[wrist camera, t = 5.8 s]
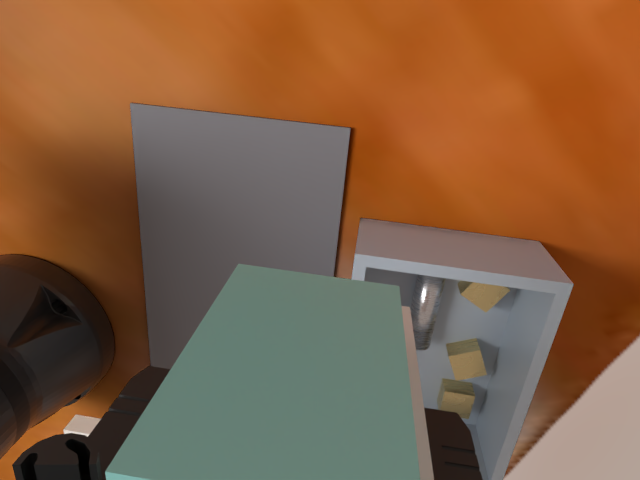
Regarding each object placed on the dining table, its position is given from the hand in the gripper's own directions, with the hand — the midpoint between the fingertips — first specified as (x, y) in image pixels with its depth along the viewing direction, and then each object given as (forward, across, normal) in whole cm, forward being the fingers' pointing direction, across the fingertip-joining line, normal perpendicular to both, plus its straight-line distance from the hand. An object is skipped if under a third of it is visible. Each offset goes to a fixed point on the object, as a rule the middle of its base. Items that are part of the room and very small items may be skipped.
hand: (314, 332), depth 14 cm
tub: (+20, +8, -12) cm, 25 cm away
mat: (+20, -8, -10) cm, 24 cm away
